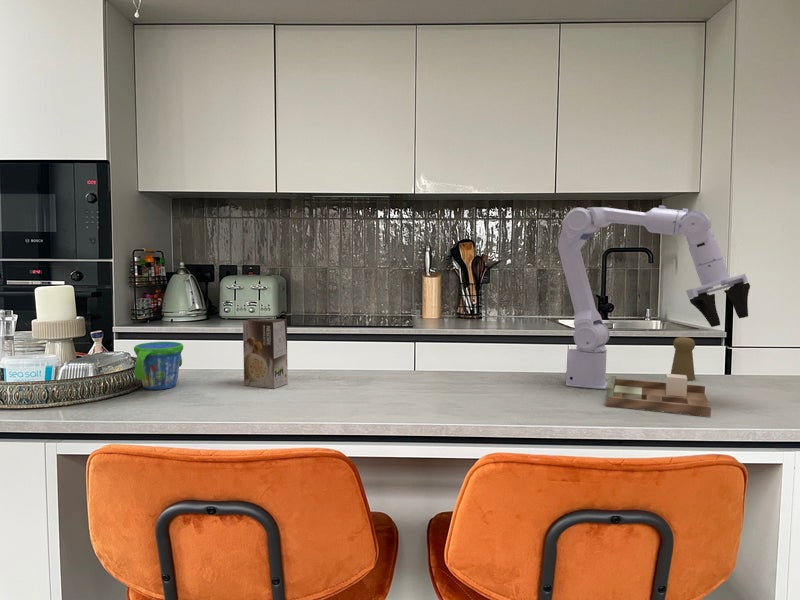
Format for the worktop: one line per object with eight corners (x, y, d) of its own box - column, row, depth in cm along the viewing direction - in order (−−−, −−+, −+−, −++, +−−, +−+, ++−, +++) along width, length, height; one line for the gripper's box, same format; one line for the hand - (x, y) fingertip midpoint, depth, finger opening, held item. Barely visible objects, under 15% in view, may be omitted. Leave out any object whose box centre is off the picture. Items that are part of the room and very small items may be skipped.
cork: (697, 381, 154) (700, 339, 153) (673, 380, 155) (675, 338, 154) (691, 376, 159) (693, 336, 159) (667, 375, 161) (669, 335, 160)
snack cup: (155, 396, 131) (154, 351, 130) (116, 392, 134) (115, 348, 133) (199, 382, 146) (198, 341, 145) (163, 378, 149) (163, 339, 148)
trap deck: (606, 406, 127) (606, 387, 126) (609, 392, 140) (610, 375, 139) (710, 417, 119) (711, 397, 119) (703, 401, 132) (704, 383, 132)
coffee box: (289, 383, 145) (289, 319, 144) (274, 389, 139) (274, 321, 138) (258, 380, 148) (257, 317, 147) (242, 385, 142) (241, 319, 141)
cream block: (666, 394, 129) (667, 376, 129) (665, 391, 133) (666, 373, 133) (686, 396, 128) (687, 378, 128) (685, 392, 132) (686, 375, 131)
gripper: (694, 266, 125) (716, 327, 123) (748, 251, 128) (770, 310, 127) (673, 273, 131) (693, 331, 130) (725, 259, 135) (745, 315, 133)
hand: (729, 321), depth 129 cm, fingers open, 7 cm apart
